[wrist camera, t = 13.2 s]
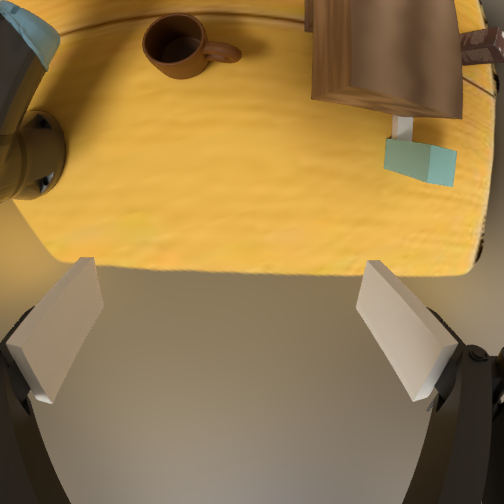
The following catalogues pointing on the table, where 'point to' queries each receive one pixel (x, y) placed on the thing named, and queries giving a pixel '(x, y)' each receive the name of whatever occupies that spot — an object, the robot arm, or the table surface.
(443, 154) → the tool
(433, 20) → the wooden cabinet
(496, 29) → the box
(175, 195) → the table surface
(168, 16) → the mug
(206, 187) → the table surface
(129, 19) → the table surface
